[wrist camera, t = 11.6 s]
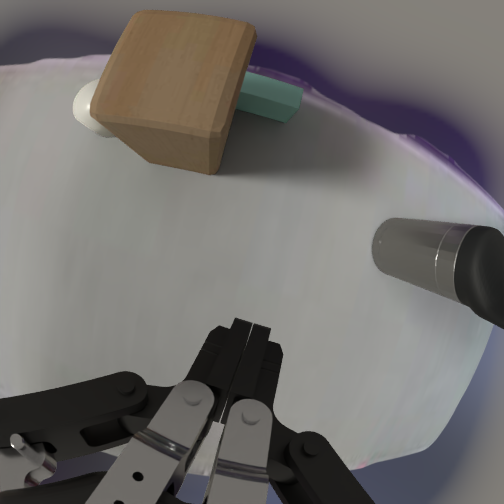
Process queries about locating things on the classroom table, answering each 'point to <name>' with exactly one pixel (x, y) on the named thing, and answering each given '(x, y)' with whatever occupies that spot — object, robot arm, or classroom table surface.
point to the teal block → (269, 97)
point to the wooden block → (175, 86)
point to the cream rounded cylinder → (88, 109)
